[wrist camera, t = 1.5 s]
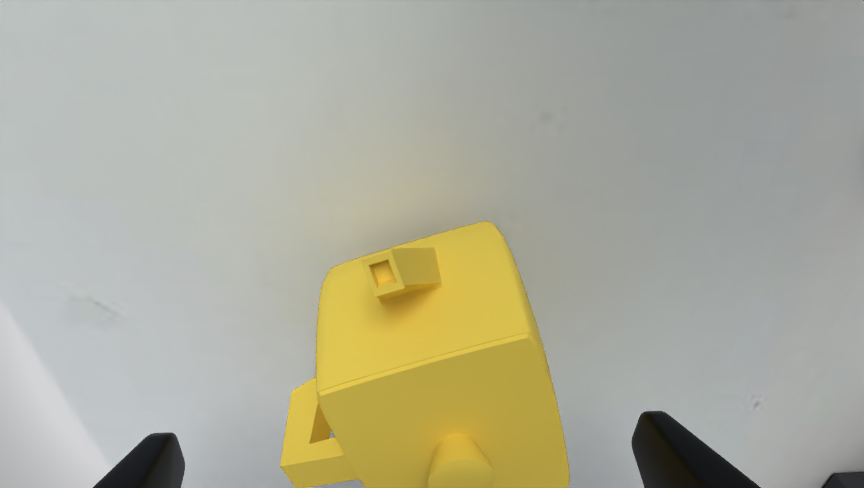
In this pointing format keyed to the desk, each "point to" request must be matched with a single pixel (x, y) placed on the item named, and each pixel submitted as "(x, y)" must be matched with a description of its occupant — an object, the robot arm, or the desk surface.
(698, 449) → the robot arm
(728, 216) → the desk surface
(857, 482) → the scale
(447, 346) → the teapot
